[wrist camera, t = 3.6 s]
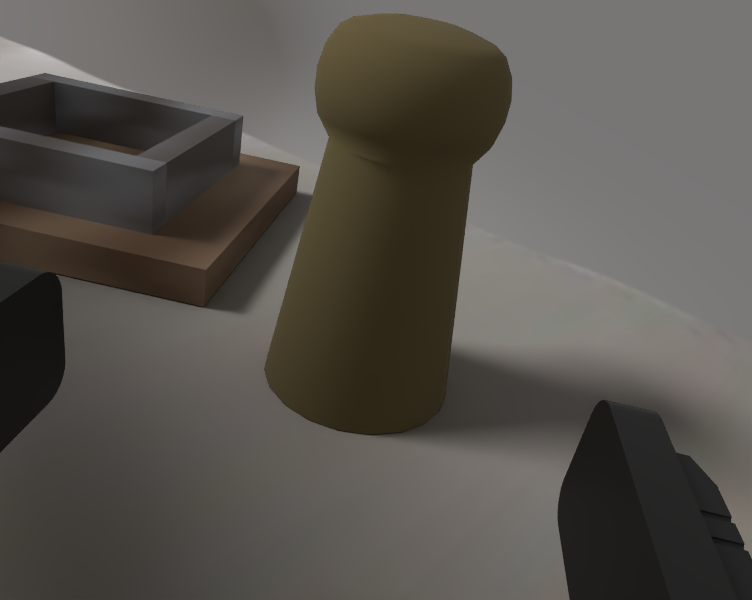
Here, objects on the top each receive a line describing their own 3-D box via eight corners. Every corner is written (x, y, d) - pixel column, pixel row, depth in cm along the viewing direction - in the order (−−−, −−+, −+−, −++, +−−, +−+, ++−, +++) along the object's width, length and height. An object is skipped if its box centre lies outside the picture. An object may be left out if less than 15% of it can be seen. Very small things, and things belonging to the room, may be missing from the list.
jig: (-213, 212, 24) (-241, 103, 22) (19, 131, 37) (14, 57, 35) (203, 306, 24) (210, 203, 22) (296, 192, 36) (305, 120, 34)
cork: (262, 321, 24) (300, -11, 18) (422, 331, 25) (498, 25, 20) (265, 431, 18) (319, 11, 13) (467, 437, 20) (585, 59, 15)
